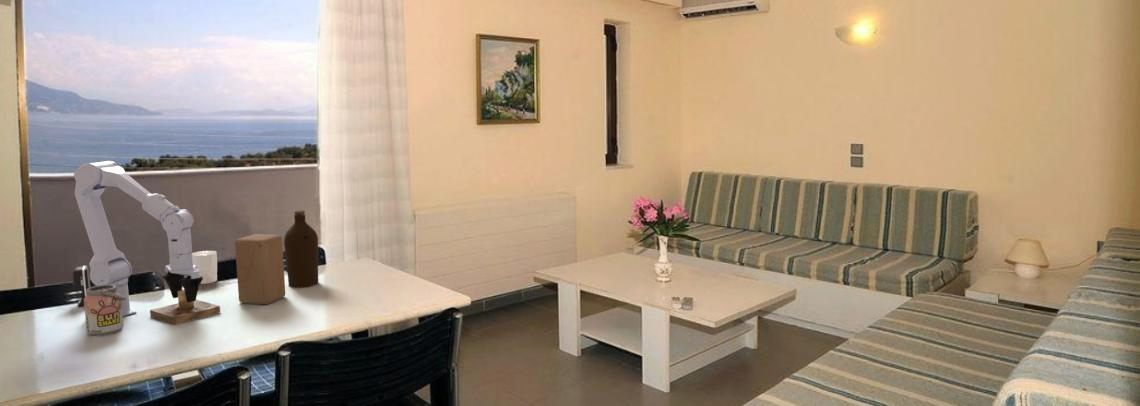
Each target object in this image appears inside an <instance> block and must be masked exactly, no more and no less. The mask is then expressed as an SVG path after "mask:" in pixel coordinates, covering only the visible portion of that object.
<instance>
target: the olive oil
mask: <svg viewBox="0 0 1140 406" xmlns="http://www.w3.org/2000/svg"><path fill="white" fill-rule="evenodd" d="M305 213H306V211H305V210H301V209H300V210H294V215H293V216H294V222H293V224H292V225H291V226H290V228H289V229H288V230H287V231H286V232H285V233H284V234H285V235H284V239H283V245H284V253H285V263H286V264H285V265H286V269H285V273H286V274H287V280H288V287H290V288H308V287H313V286H316V285H318V284H319V237H318V233H317V232H316V230H315V229H314V228H313V227H312V226H311V225H310V224H308V223H307V222H306V214H305Z"/></svg>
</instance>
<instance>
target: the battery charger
mask: <svg viewBox="0 0 1140 406" xmlns="http://www.w3.org/2000/svg"><path fill="white" fill-rule="evenodd" d="M72 286H73V287H75V288H76V287H77V288H78V290H81V295H82V296H81V298H79V300H78V302H77V305H78V306H79V307H83V306H84V298H85V297H86V295H87V293H86V290H87V289H88V288H91V278H90V269H89V266H88V265H82V266H76V267H74V269H73V271H72Z"/></svg>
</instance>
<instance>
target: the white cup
mask: <svg viewBox="0 0 1140 406" xmlns="http://www.w3.org/2000/svg"><path fill="white" fill-rule="evenodd" d="M192 257H193V265H195V266H197V268H196V270H198V271H199V275H200V276H201V277H203V280H202V281H201V283H200V285H204V284H205V285H206V284H213V283H215V282H217V281H218V274H217V273H218V252H217V251H216V250H201V251H199V250H198V251H195V252H192Z"/></svg>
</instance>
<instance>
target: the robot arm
mask: <svg viewBox="0 0 1140 406" xmlns="http://www.w3.org/2000/svg"><path fill="white" fill-rule="evenodd" d="M73 176H74V179H75V187H74V196H75V199H76V203H77V206H78V209H79V212H80V216H81V218H82V221H83V224H84V228H85V231H86V234H87V237H88V240H89V243H90V246H91V249H92V252H93V256H92V258H91V260H90V261H89V268H90V270H89V278H90V282H92V283H93V284H94V286H100V285H115V286H116V287H117V290H116V291H117V292H118V293H119V294H121V295H123V296H125V297H126V299H125V300H121V304H122V314H123V317H124V316H129V315H134V314H136V313H137V312H138V311H136V310H134V309H131V307H130V295H129V287H128V286H129V285H128V282H129V278H130V276H132V273H133V268H132V265H131V262H129V261H128V260H127V258H126V256H125V253H123V252H122V251H120V250H119V249H118V248H117V245H116V243H115V240H114V237H113V234H112V230H111V227H110V223H109V221H108V218H107V214H106V212H105V208H104V205H103V202H102V199H101V195H102V194H103V193H104V191H105V190H106V189H107V188H108V187H116V188H118V189H119V190H121V191H122V192H124V193H125V194H127V195H129V197H132V198H134V199H135V200H137V201H138V202H140V203H141V207H142V208H141V209H142V210H143V211H145V212H146V213H148V214H149V215H151V216H152V217H153V218H154V219H156V220H157V221H159V222H160V223H161V226H162V228H163V230H164V231H165V232H166V236H167V242H168V243H167V244H168V256H169V264H168V265H165V266H164V267H165V269H164V270H165V273H164V274H162V278H163V280H165V282H166V285H168V288H169V291H170V294H171V297H172V298H173V299H178V291H180V290H184V291H185V296H186V300H187V302H193V301H196V300H197V296H198V291H199V287H200V285H201V284H200V283H201V281H202V280H203V277H201V276H200V275H199V271H198V270H196V268H197V266H195V265H193V257H192V253H193V247H192V233H191V231H192V230H191V228H192V227H193V225H194V223H195V218H194V216H193V214H192V213H191V212H190V211H189V210H188V209H180V207H179V206H178V205H174V204H173V202H170V201H169V200H168V199H166V198H167V197H166V196H165V195H164V194H160V193H151V192H150V191H148V189H146V188H145V187H144V186H142V185H141V184H140V183H139V182H138V181H137V180H135V179H134V178H133V177H131V176H130V175H129V174H128V173H126V171H125V169H124V167H121V166H120V165H118V164H117V163H116V162H115V161H111V160H104V161H100V162H99V161H98V162H85V163H82V164H80V165H79V167H77V169H76V170H75V172H74V173H73Z"/></svg>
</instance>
